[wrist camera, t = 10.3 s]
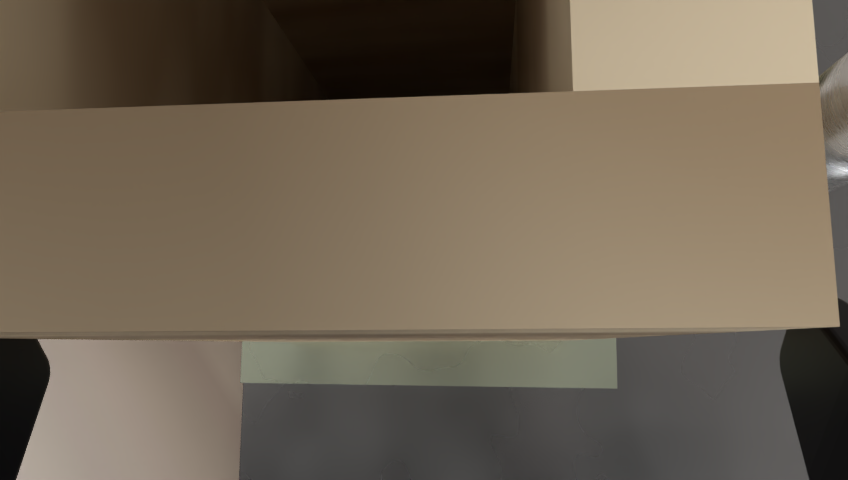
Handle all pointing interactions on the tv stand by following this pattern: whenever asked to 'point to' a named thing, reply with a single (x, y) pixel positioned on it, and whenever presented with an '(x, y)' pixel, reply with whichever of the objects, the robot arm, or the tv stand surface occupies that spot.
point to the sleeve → (411, 170)
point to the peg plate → (545, 386)
